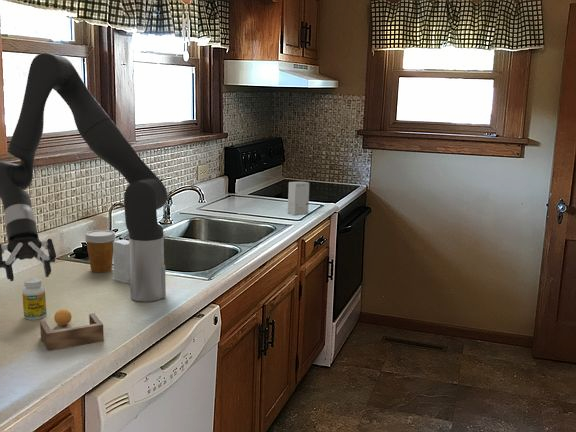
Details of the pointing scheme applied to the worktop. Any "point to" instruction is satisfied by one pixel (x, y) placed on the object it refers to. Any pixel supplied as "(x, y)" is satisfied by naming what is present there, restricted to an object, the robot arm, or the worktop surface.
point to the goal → (72, 334)
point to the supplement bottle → (34, 299)
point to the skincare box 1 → (121, 261)
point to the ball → (62, 317)
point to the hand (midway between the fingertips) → (30, 277)
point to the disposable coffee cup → (100, 249)
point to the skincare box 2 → (298, 198)
